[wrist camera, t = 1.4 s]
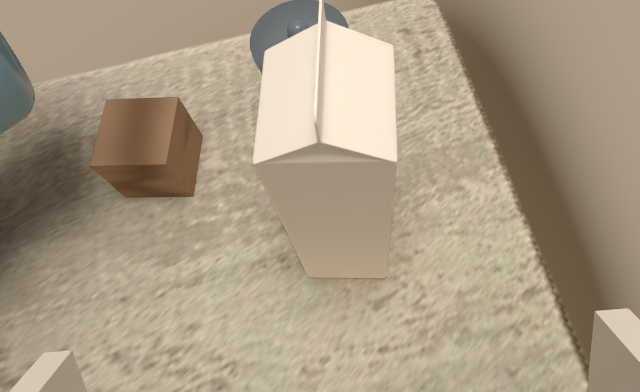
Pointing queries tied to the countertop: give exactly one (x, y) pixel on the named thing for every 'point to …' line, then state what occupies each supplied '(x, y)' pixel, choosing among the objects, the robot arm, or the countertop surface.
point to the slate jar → (288, 24)
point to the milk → (330, 147)
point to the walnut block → (148, 147)
